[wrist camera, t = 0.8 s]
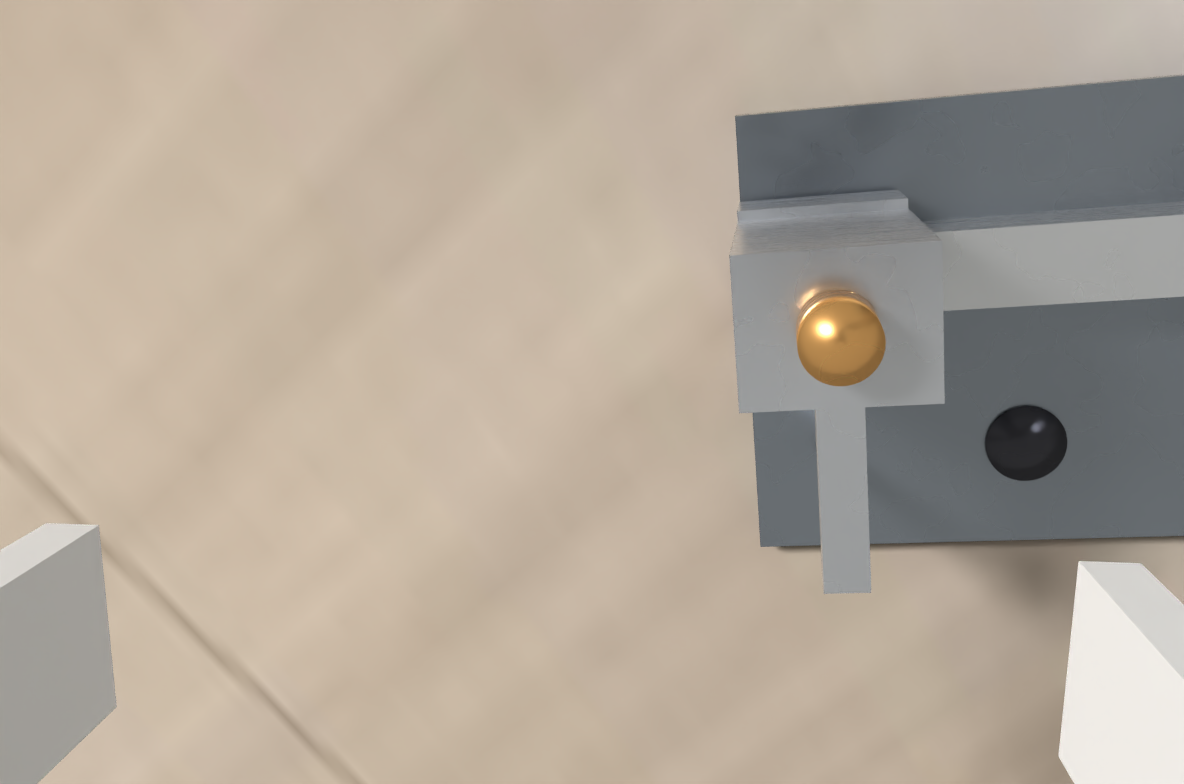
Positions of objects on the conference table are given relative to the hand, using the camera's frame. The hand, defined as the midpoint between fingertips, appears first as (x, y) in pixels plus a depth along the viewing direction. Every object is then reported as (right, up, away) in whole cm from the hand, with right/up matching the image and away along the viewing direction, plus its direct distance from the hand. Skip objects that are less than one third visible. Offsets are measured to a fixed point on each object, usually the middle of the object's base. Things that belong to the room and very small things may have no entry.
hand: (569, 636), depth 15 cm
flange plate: (+17, +6, +22) cm, 29 cm away
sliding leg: (+8, +5, +22) cm, 24 cm away
